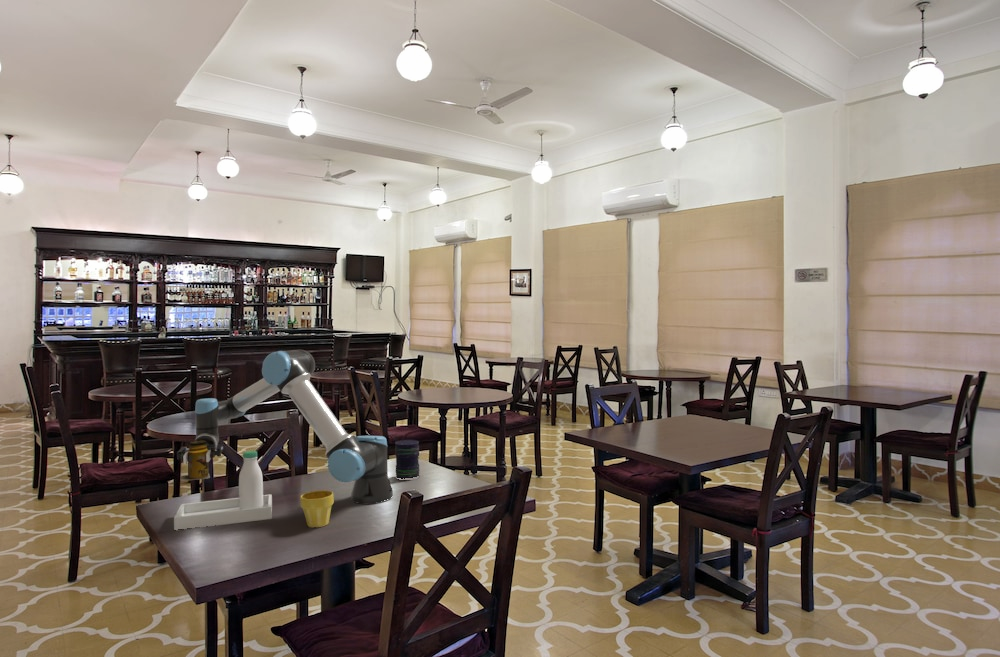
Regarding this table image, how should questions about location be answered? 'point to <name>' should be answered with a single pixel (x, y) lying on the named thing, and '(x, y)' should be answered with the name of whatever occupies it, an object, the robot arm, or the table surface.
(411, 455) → the storage jar
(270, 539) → the table surface
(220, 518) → the tray
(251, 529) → the table surface
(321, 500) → the plant pot
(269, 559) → the table surface
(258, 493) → the milk bottle
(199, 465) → the condiment
